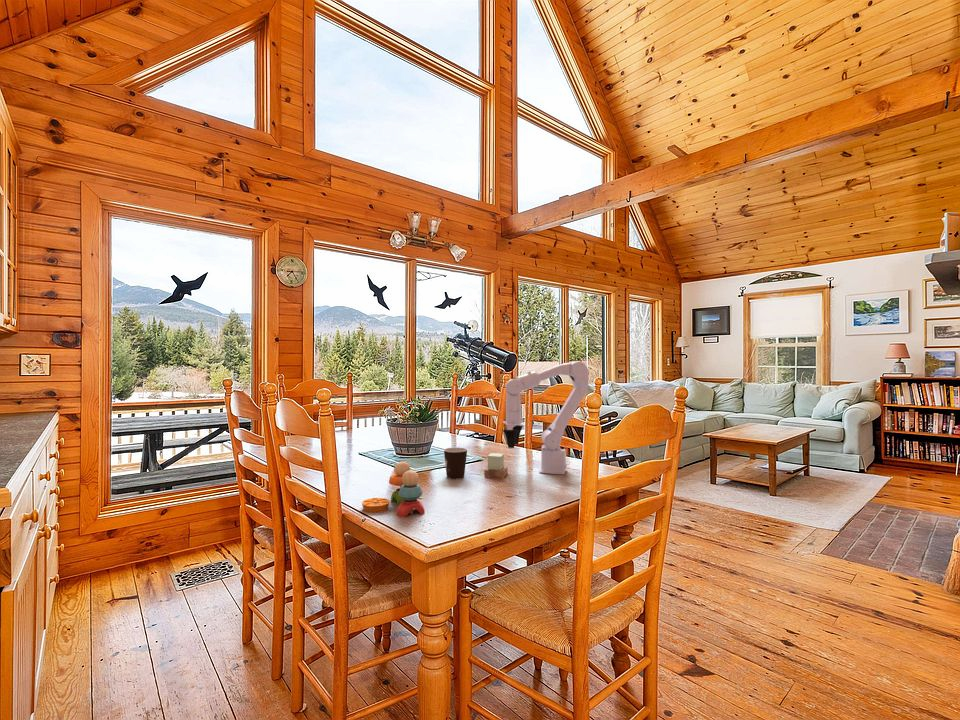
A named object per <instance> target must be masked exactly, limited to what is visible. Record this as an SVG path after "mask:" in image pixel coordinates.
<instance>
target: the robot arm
mask: <svg viewBox="0 0 960 720" xmlns="http://www.w3.org/2000/svg"><path fill="white" fill-rule="evenodd" d="M560 375H562V376H569V379H571V381H572V385H573V389H572V390H571V392H570V394H569V396H567V398H566V400H565V402H564V404H563V405H562V407H561V408H560V410H559V412H558V414H557V415H556V417H555V418H554V420H553V422H552V423H550V425H549V426H548V427H547V428H546V429H544V431H542V432H541V436H540V438H541V442H542V443H543V444H542V446H541V447H540V448H541V453H540V454H541V461H540V462H541V465H540V467H541V468H540V469H539V471H538V473H540V474H553V475H555V474H556V475H565V473H566V470H567V450H566V449H565V448H561V444H562V438H563V436H564V434H565V429H566V428H567V426H568V424H569V422H570V420H572V417H573V416H574V414H575V412H576V411H577V409H578V407H579V405H580V404H581V402H582V400H583V399H584V398H585V395H586V394H587V392H588V391H589V376H590V371H589V369H588V366H587V365H586V363H584V362H583V361H577V360H572V361H570V362H564V363H561V364H558V365H556V366H552V367H550V368H548V369H545V370H543V371H541V372H535V371H531V370H529V371H527V372H526V374H523V375H520V376H519V375H517V376H515V378H511V379H509V380H507V382H506V383H505V386H504V389H505V390H506V393H505V396H506V397H505V420H503V421H502V424H505V425H506V428H503V429H502V431H503V434H504V436H505V439H506V443H507V447H508V448H509V449H514V448H515V446H516V445H518V444H519V441H520V440H519V439H520V434H521V433H522V430H523V427H524V426H523V425H522V416H521V415H522V408H521V407H522V405H521V404H522V402H521V401H522V398H521V392H522V391H524V392H525V391H527V390H530V389H533V388H536V387H538V386H540V384H541V382H542V381H546V380H548V379H551V378H554V377H558V376H560Z"/></svg>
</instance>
